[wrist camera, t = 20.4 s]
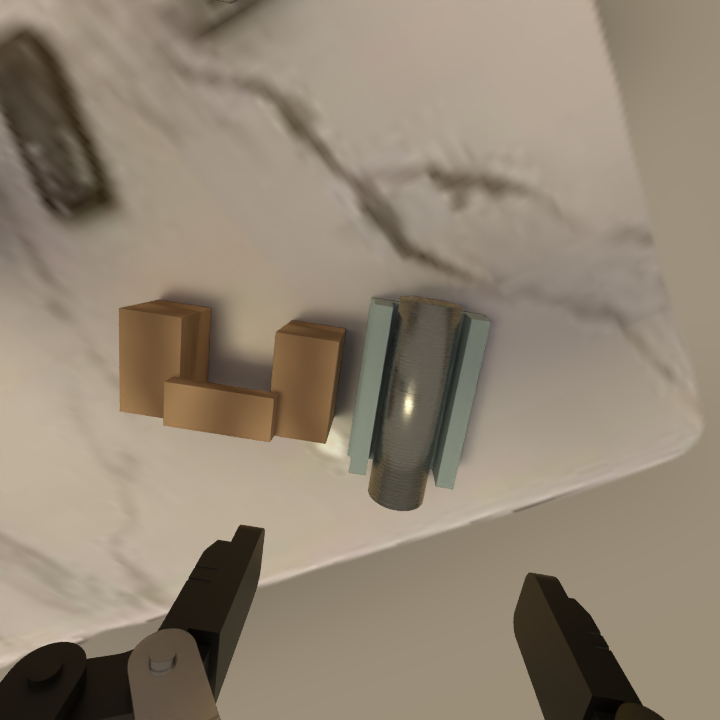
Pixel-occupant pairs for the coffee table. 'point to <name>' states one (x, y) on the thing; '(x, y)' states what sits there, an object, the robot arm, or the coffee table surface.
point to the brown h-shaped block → (221, 402)
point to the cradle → (455, 399)
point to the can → (227, 1)
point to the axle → (413, 400)
